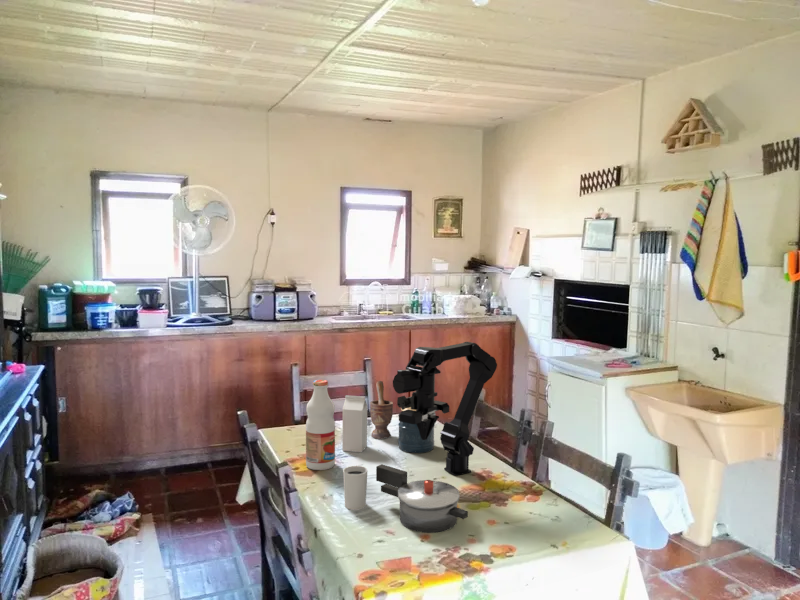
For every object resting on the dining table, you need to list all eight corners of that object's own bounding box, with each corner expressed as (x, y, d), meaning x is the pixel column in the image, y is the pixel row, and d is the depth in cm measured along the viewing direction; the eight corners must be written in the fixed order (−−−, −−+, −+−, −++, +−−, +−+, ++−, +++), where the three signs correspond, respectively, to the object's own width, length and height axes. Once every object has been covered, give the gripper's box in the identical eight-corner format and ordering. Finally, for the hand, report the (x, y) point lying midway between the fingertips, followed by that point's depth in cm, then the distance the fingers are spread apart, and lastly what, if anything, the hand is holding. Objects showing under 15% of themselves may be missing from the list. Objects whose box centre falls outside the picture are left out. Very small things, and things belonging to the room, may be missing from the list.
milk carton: (361, 452, 207) (362, 399, 206) (342, 451, 208) (342, 397, 207) (367, 446, 214) (367, 394, 212) (348, 444, 215) (348, 393, 214)
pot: (399, 494, 172) (400, 474, 171) (480, 522, 155) (481, 499, 154) (365, 512, 160) (365, 490, 159) (448, 543, 143) (448, 519, 143)
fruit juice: (309, 460, 199) (309, 377, 197) (337, 461, 199) (337, 378, 196) (302, 470, 190) (302, 383, 188) (332, 471, 189) (332, 384, 187)
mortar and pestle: (362, 432, 230) (363, 381, 229) (382, 429, 234) (383, 379, 233) (375, 440, 220) (376, 387, 219) (396, 437, 224) (397, 385, 223)
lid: (396, 472, 172) (397, 457, 172) (470, 494, 157) (471, 479, 156) (359, 489, 160) (359, 473, 159) (436, 515, 144) (436, 498, 144)
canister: (440, 446, 215) (441, 398, 214) (422, 456, 204) (423, 405, 203) (410, 439, 222) (410, 393, 221) (391, 449, 211) (391, 400, 210)
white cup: (356, 498, 169) (356, 464, 168) (372, 505, 164) (372, 470, 163) (338, 505, 164) (338, 469, 163) (353, 512, 159) (353, 476, 159)
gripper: (422, 380, 192) (421, 427, 193) (384, 390, 177) (384, 441, 179) (450, 385, 185) (449, 434, 186) (414, 396, 171) (413, 449, 172)
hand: (424, 439), depth 181 cm, fingers closed
